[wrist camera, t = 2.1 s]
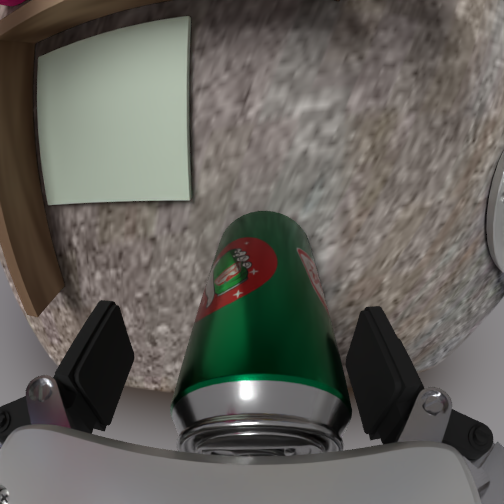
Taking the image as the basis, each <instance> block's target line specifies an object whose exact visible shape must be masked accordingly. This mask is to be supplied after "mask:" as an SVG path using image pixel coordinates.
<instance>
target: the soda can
mask: <svg viewBox="0 0 504 504" xmlns="http://www.w3.org/2000/svg"><path fill="white" fill-rule="evenodd" d="M170 413H171V417H172V420H173V422H174V425H175V427H176V429H177V431H178V434H179V437H178V439H177V449H178V451H180V452H189V453H198V454H210V455H225V456H292V455H307V454H319V453H328V452H336V451H343V446H344V443H343V441H342V436H343V434H344V432H345V430H346V428H347V426H348V424H349V422H350V420H351V416H352V408H351V403H350V399H349V394H348V389H347V385H346V380H345V376H344V372H343V367H342V363H341V359H340V355H339V351H338V346H337V342H336V338H335V334H334V331H333V327H332V323H331V319H330V315H329V311H328V308H327V304H326V300H325V297H324V293H323V289H322V286H321V282H320V279H319V275H318V272H317V268H316V265H315V261H314V258H313V255H312V251H311V248H310V245H309V242H308V239H307V236H306V234H305V233H304V231H303V230H302V228H301V227H300V226H299V225H298V224H297V223H296V222H295V221H294V220H292V219H290V218H289V217H287V216H285V215H283V214H280V213H276V212H271V211H257V212H252V213H249V214H246V215H243V216H241V217H240V218H238V219H236V220H235V221H234V222H232V223H231V224H230V225H229V226H228V228H227V229H226V230H225V232H224V233H223V235H222V238H221V240H220V243H219V246H218V249H217V252H216V255H215V258H214V261H213V264H212V268H211V271H210V274H209V277H208V280H207V283H206V286H205V290H204V293H203V296H202V299H201V303H200V306H199V309H198V312H197V316H196V319H195V322H194V326H193V329H192V332H191V336H190V339H189V343H188V346H187V349H186V353H185V356H184V360H183V363H182V367H181V370H180V374H179V377H178V381H177V385H176V388H175V392H174V395H173V399H172V403H171V410H170Z"/></svg>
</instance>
